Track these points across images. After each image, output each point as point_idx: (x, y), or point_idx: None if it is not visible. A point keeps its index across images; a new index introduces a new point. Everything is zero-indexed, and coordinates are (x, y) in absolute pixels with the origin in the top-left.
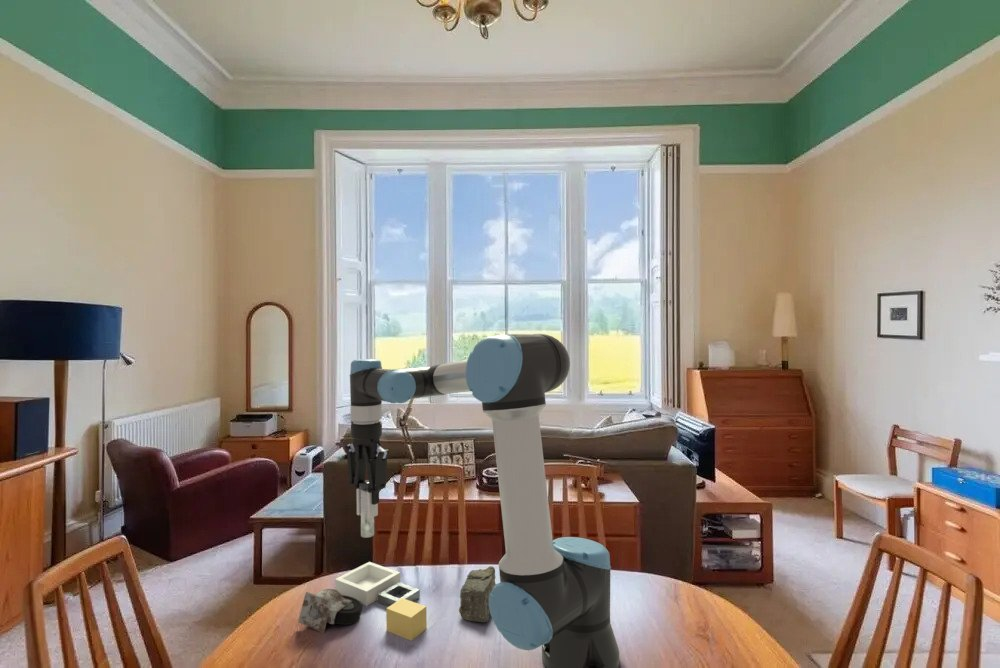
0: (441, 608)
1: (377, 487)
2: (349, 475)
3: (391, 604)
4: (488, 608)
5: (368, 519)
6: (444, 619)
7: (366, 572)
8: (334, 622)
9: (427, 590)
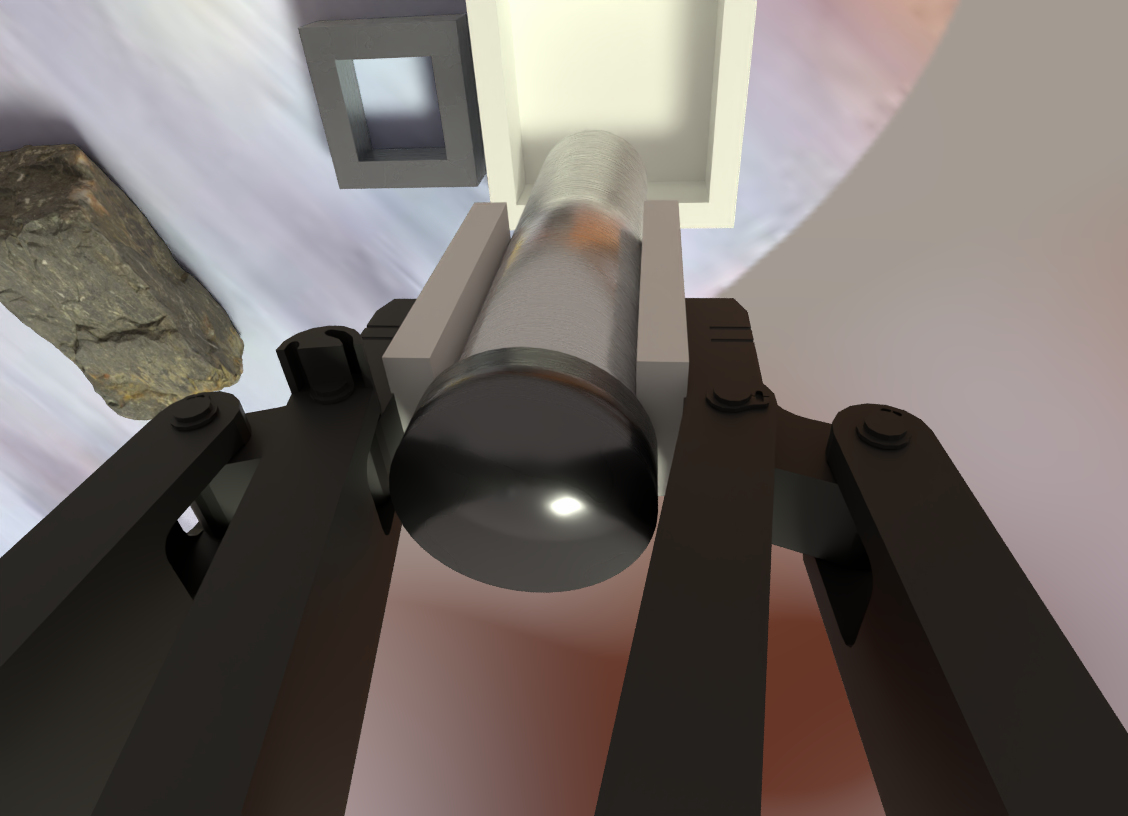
0: (214, 161)
1: (172, 426)
2: (956, 529)
3: (362, 20)
4: None
5: (522, 213)
6: (126, 99)
7: (708, 170)
8: None
9: (383, 242)
